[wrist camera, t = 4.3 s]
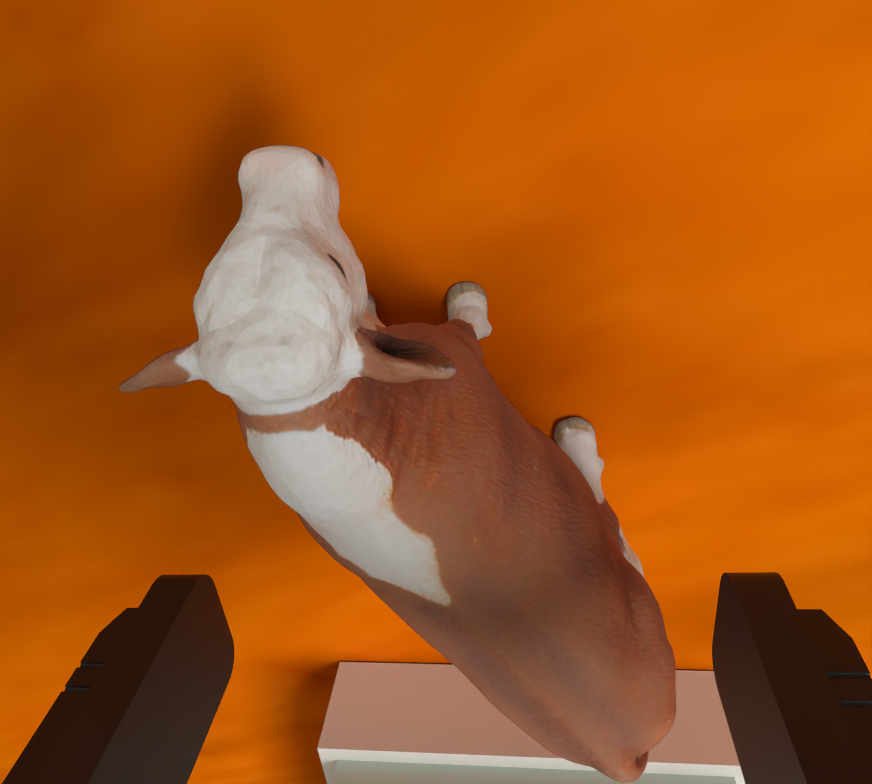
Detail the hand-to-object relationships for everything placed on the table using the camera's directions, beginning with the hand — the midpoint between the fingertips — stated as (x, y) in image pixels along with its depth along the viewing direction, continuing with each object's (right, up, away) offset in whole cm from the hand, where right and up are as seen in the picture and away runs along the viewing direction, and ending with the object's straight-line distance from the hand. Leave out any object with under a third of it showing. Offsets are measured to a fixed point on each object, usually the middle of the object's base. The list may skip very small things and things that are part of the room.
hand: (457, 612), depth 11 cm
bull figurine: (+1, +4, +6) cm, 7 cm away
